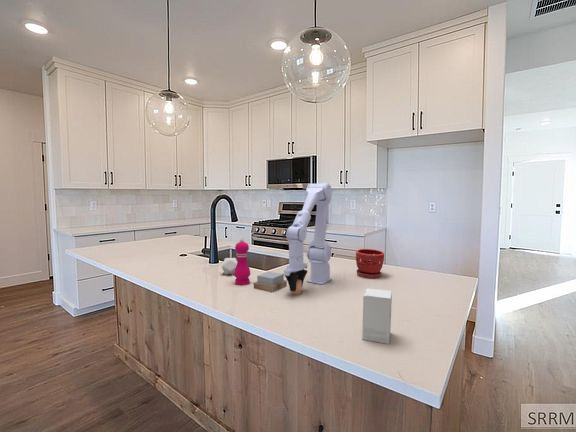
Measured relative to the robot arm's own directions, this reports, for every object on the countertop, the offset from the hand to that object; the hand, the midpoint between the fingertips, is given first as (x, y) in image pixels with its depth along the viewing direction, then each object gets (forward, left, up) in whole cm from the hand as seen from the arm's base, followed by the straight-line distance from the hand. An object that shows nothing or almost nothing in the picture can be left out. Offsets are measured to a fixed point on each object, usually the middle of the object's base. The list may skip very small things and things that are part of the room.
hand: (296, 289), depth 126 cm
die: (-6, -42, -2) cm, 42 cm away
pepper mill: (+2, -27, -2) cm, 27 cm away
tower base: (0, -13, -2) cm, 13 cm away
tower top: (0, -13, +1) cm, 13 cm away
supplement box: (+19, +39, -2) cm, 43 cm away
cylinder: (0, 0, -1) cm, 1 cm away
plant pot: (-41, +16, -2) cm, 44 cm away
